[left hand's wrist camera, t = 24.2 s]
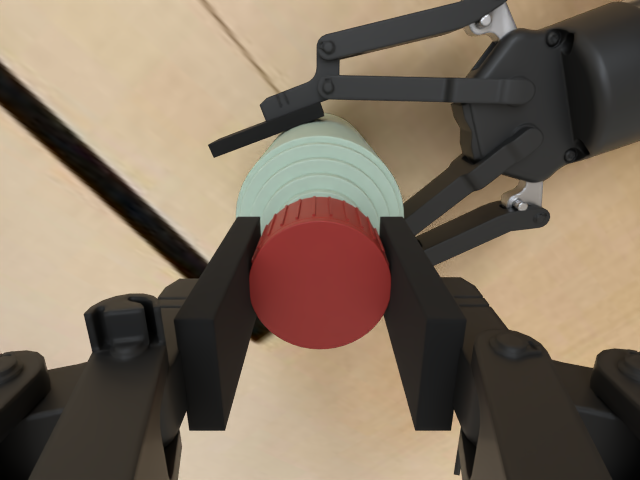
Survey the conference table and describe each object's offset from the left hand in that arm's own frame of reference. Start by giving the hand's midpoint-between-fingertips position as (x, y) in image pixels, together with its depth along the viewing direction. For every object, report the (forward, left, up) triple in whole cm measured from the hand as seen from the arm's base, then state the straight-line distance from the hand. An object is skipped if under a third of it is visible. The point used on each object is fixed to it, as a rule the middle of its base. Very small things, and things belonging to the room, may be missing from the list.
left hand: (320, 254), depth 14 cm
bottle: (0, 0, -18) cm, 18 cm away
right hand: (-5, -1, -11) cm, 12 cm away
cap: (0, 0, +2) cm, 2 cm away
